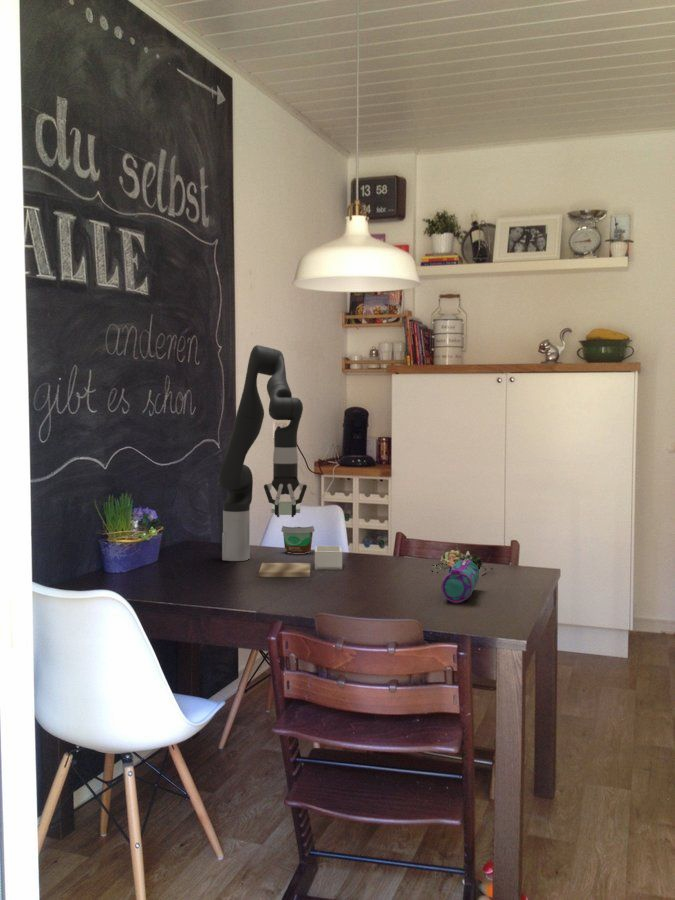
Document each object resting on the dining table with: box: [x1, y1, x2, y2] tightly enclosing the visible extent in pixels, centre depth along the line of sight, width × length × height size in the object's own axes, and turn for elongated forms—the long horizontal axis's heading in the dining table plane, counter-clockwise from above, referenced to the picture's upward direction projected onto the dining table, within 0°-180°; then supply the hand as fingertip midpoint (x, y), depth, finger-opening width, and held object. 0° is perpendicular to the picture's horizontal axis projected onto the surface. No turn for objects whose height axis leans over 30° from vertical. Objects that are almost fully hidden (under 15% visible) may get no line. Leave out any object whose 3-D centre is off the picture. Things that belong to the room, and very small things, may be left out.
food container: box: [281, 525, 316, 553], centre depth 309 cm, size 12×6×10 cm, turn 88°
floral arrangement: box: [431, 543, 484, 572], centre depth 284 cm, size 35×28×7 cm
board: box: [258, 562, 311, 578], centre depth 274 cm, size 16×16×2 cm
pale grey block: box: [270, 501, 301, 516], centre depth 271 cm, size 9×19×4 cm, turn 2°
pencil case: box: [441, 559, 480, 604], centre depth 240 cm, size 21×9×10 cm, turn 166°
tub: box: [314, 545, 343, 571], centre depth 284 cm, size 9×12×6 cm
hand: (285, 516), depth 264 cm, fingers closed on pale grey block, 4 cm apart
